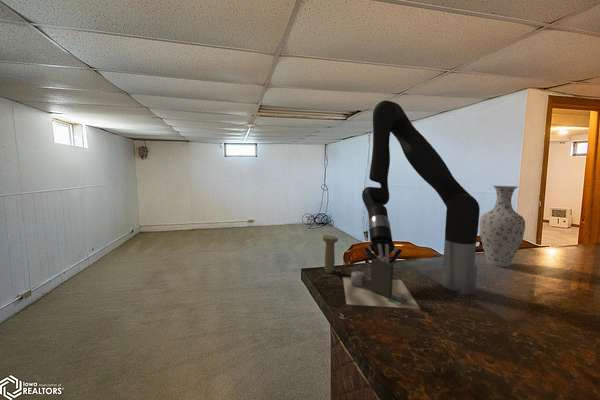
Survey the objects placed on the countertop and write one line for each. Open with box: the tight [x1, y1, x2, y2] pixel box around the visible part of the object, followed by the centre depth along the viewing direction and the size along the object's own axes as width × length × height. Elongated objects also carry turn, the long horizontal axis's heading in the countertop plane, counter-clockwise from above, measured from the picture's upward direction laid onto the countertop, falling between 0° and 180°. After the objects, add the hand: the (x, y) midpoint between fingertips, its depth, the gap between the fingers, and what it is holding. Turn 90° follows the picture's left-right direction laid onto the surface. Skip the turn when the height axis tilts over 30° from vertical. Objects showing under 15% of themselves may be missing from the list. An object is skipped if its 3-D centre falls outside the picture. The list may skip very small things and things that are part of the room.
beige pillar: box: [322, 234, 339, 274], centre depth 105 cm, size 5×6×15 cm
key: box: [350, 258, 403, 302], centre depth 87 cm, size 20×5×10 cm, turn 36°
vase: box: [479, 185, 526, 268], centre depth 118 cm, size 16×16×35 cm
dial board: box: [342, 276, 421, 310], centre depth 89 cm, size 21×21×1 cm
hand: (385, 275), depth 87 cm, fingers closed
